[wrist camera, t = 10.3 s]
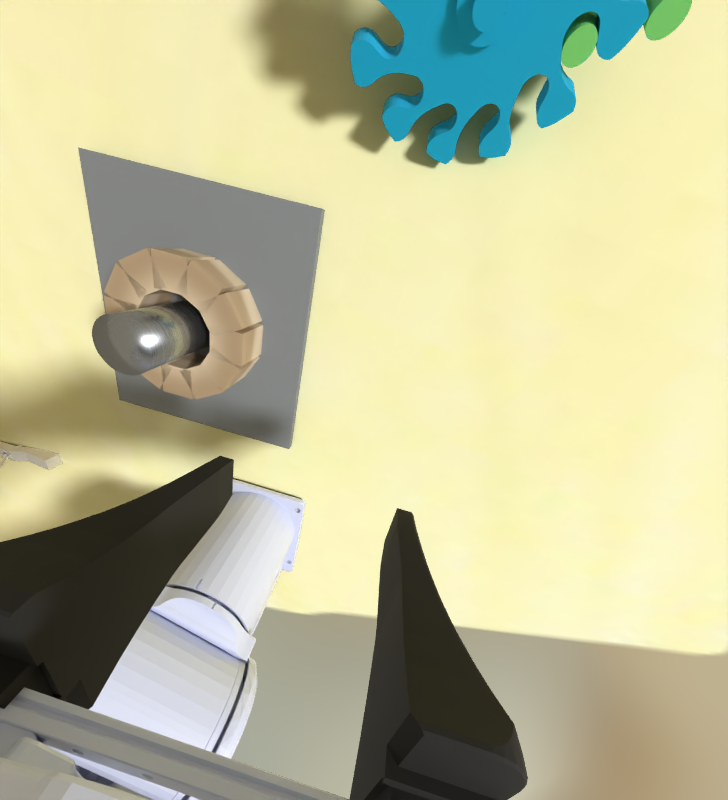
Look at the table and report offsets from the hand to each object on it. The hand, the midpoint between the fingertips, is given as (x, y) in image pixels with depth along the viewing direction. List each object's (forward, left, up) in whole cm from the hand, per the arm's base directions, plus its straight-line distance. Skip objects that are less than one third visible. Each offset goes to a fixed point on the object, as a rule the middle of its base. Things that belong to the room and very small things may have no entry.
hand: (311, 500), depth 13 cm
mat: (+3, +11, -9) cm, 15 cm away
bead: (+3, +11, -9) cm, 14 cm away
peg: (+3, +11, -9) cm, 14 cm away
